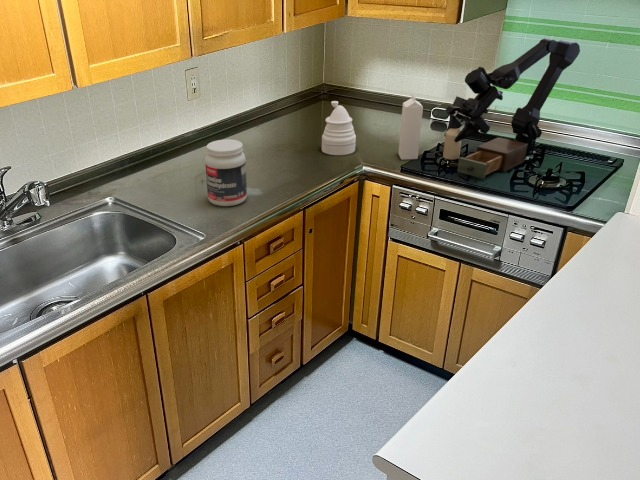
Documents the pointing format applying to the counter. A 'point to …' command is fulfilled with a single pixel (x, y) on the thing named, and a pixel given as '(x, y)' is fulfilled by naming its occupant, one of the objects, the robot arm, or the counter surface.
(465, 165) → the drawer
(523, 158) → the cabinet
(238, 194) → the supplement tub
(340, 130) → the honey pot
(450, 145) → the candle
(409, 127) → the milk
